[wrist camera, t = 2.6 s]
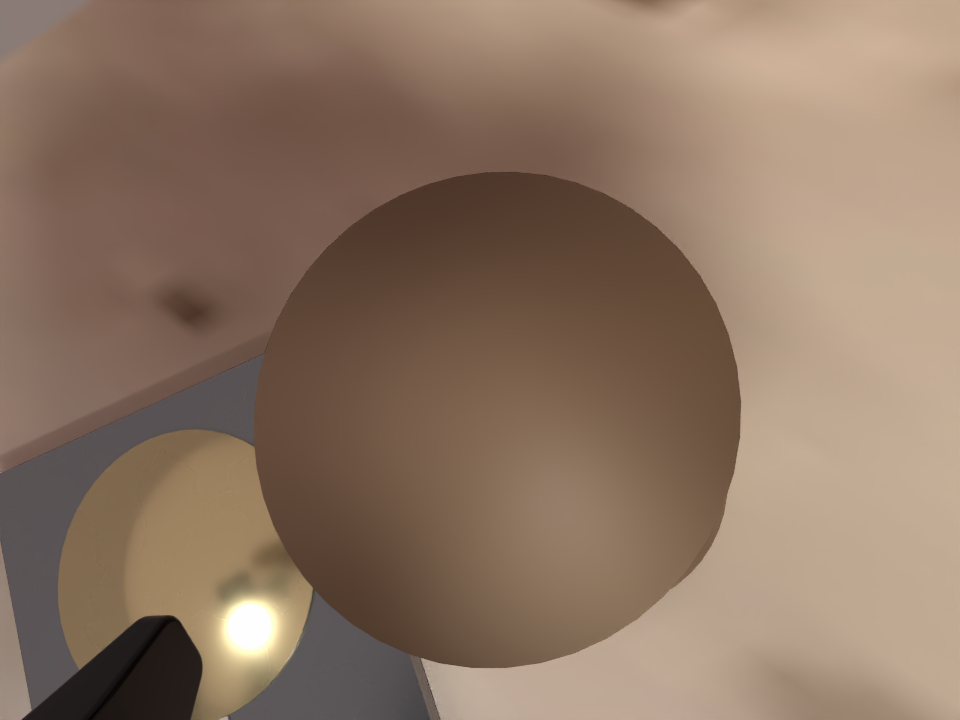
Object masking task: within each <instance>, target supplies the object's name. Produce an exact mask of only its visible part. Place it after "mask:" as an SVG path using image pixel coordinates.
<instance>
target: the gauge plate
mask: <svg viewBox="0 0 960 720" xmlns="http://www.w3.org/2000/svg"><path fill="white" fill-rule="evenodd" d="M264 355H265V354H262V355H260V356H258V357H256V358H254V359H251V360H249V361H247V362H245V363H243V364H240V365H238V366H236V367H234V368H232V369H229V370H227V371H225V372H223V373H221V374H218V375H216V376H214V377H212V378H210V379H207V380H205V381H203V382H201V383H199V384H196V385H194V386H192V387H190V388H188V389H185V390H183V391H181V392H179V393H177V394H174V395H172V396H170V397H168V398H166V399H163V400H161V401H159V402H157V403H155V404H152V405H150V406H148V407H146V408H144V409H141V410H139V411H137V412H135V413H133V414H130V415H128V416H126V417H124V418H122V419H119V420H117V421H115V422H113V423H111V424H109V425H106V426H104V427H102V428H100V429H98V430H95V431H93V432H91V433H89V434H87V435H84V436H82V437H80V438H78V439H76V440H73V441H71V442H69V443H67V444H65V445H62V446H60V447H58V448H56V449H54V450H51V451H49V452H47V453H45V454H43V455H40V456H38V457H36V458H34V459H32V460H29V461H27V462H25V463H23V464H21V465H18V466H16V467H14V468H12V469H10V470H7V471H5V472H3V473H1V474H0V541H1V546H2V552H3V557H4V562H5V568H6V573H7V578H8V584H9V589H10V595H11V600H12V605H13V611H14V616H15V622H16V627H17V632H18V638H19V643H20V649H21V654H22V659H23V665H24V670H25V676H26V681H27V686H28V692H29V697H30V703H31V708H32V710H33V709H35V708H36V707H37V706H38V705H39V704H40V703H41V702H43V701H44V700H45V699H46V698H47V697H48V696H50V695H51V694H52V693H53V692H54V691H55V690H57V689H58V688H59V687H60V686H61V685H62V684H64V683H65V682H66V681H67V680H68V679H69V678H70V677H72V676H73V675H74V674H75V673H76V672H77V671H79V670H80V669H81V668H82V667H83V666H84V665H86V664H87V663H88V662H89V661H90V660H91V659H93V658H94V657H95V656H96V655H97V654H98V653H99V652H101V651H102V650H103V649H104V648H105V647H106V646H108V645H109V644H110V643H111V642H112V641H113V640H115V639H116V638H117V637H118V636H119V635H120V634H122V633H123V632H124V631H125V630H126V629H127V628H128V627H130V626H131V625H132V624H133V623H134V622H136V621H137V620H138V619H140V618H142V617H145V616H153V615H172V616H175V617H176V618H178V619H179V620H180V622H181V623H182V625H183V626H184V628H185V630H186V631H187V633H188V635H189V636H190V638H191V639H192V641H193V643H194V644H195V646H196V647H197V649H198V651H199V652H200V654H201V657H202V663H203V671H202V678H201V682H200V686H199V690H198V694H197V698H196V702H195V706H194V710H193V713H192V717H191V720H440V718H439V715H438V712H437V709H436V706H435V703H434V699H433V696H432V693H431V690H430V687H429V684H428V681H427V678H426V675H425V672H424V669H423V666H422V663H421V660H420V657H417V656H413V655H410V654H407V653H405V652H402V651H400V650H398V649H396V648H394V647H391V646H389V645H387V644H385V643H383V642H380V641H378V640H376V639H375V638H373V637H372V636H370V635H369V634H367V633H365V632H364V631H362V630H361V629H359V628H358V627H356V626H354V625H353V624H351V623H350V622H349V621H347V620H346V619H345V618H344V617H343V616H342V615H340V614H339V613H338V612H337V611H336V610H335V609H333V608H332V607H331V606H330V605H329V604H327V603H326V602H325V601H324V600H323V598H322V597H321V596H320V595H319V594H318V593H317V592H316V591H315V590H314V588H313V587H312V586H311V585H310V584H309V583H308V582H307V581H306V580H305V578H304V577H303V575H302V574H301V572H300V571H299V569H298V568H297V567H296V565H295V564H294V562H293V561H292V559H291V558H290V556H289V555H288V553H287V552H286V550H285V548H284V546H283V544H282V542H281V540H280V538H279V536H278V534H277V532H276V530H275V528H274V526H273V523H272V520H271V518H270V515H269V512H268V509H267V506H266V504H265V501H264V498H263V494H262V490H261V485H260V481H259V476H258V472H257V467H256V457H255V447H254V405H255V398H256V391H257V384H258V377H259V373H260V369H261V366H262V362H263V358H264Z"/></svg>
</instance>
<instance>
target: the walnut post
mask: <svg viewBox="0 0 960 720" xmlns="http://www.w3.org/2000/svg"><path fill="white" fill-rule="evenodd" d="M740 414H741V399H740V390H739V381H738V372H737V365H736V362H735V358H734V354H733V350H732V346H731V342H730V338H729V334H728V332H727V329H726V327H725V324H724V322H723V320H722V317H721V315H720V312H719V310H718V307H717V305H716V303H715V301H714V299H713V298H712V296H711V294H710V292H709V291H708V289H707V287H706V285H705V284H704V282H703V280H702V279H701V277H700V275H699V274H698V273H697V271H696V270H695V269H694V267H693V266H692V265H691V264H690V262H689V261H688V260H687V258H686V257H685V256H684V255H683V253H682V252H681V251H680V250H679V249H678V248H677V247H676V246H675V245H674V244H673V243H672V242H671V241H670V240H669V239H668V238H667V237H666V236H665V235H664V234H663V233H662V232H661V231H660V230H659V229H658V228H657V227H656V226H654V225H653V224H652V223H650V222H649V221H647V220H646V219H645V218H643V217H642V216H641V215H639V214H638V213H637V212H635V211H634V210H633V209H631V208H629V207H628V206H626V205H624V204H622V203H620V202H618V201H617V200H615V199H613V198H611V197H609V196H607V195H606V194H604V193H601V192H599V191H596V190H593V189H591V188H588V187H586V186H583V185H580V184H578V183H575V182H571V181H567V180H563V179H559V178H554V177H550V176H546V175H538V174H529V173H519V172H492V173H479V174H472V175H465V176H458V177H454V178H450V179H446V180H442V181H439V182H435V183H431V184H428V185H425V186H423V187H420V188H418V189H415V190H413V191H410V192H408V193H405V194H403V195H400V196H398V197H397V198H395V199H393V200H391V201H389V202H387V203H386V204H384V205H382V206H380V207H378V208H377V209H375V210H373V211H372V212H370V213H369V214H368V215H366V216H365V217H363V218H362V219H361V220H359V221H358V222H356V223H355V224H353V225H352V226H351V227H349V228H348V229H347V230H346V231H345V232H344V233H343V234H342V235H341V236H339V237H338V238H337V239H336V240H335V241H334V242H333V243H332V244H331V245H329V246H328V247H327V249H326V250H325V251H324V252H323V253H322V254H321V255H320V256H319V258H318V259H317V260H316V261H315V262H314V263H313V264H312V266H311V267H310V268H309V269H308V270H307V272H306V273H305V275H304V276H303V278H302V279H301V280H300V282H299V283H298V285H297V286H296V288H295V289H294V291H293V292H292V293H291V295H290V297H289V299H288V301H287V303H286V305H285V306H284V308H283V310H282V312H281V314H280V316H279V318H278V320H277V322H276V324H275V327H274V330H273V332H272V335H271V337H270V340H269V342H268V345H267V347H266V351H265V355H264V358H263V362H262V366H261V369H260V373H259V377H258V384H257V391H256V398H255V405H254V447H255V457H256V467H257V472H258V476H259V481H260V485H261V490H262V494H263V498H264V501H265V504H266V506H267V509H268V512H269V515H270V518H271V520H272V523H273V526H274V528H275V530H276V532H277V534H278V536H279V538H280V540H281V542H282V544H283V546H284V548H285V550H286V552H287V553H288V555H289V556H290V558H291V559H292V561H293V562H294V564H295V565H296V567H297V568H298V569H299V571H300V572H301V574H302V575H303V577H304V578H305V580H306V581H307V582H308V583H309V584H310V585H311V586H312V587H313V588H314V590H315V591H316V592H317V593H318V594H319V595H320V596H321V597H322V598H323V600H324V601H325V602H326V603H327V604H329V605H330V606H331V607H332V608H333V609H335V610H336V611H337V612H338V613H339V614H340V615H342V616H343V617H344V618H345V619H346V620H347V621H349V622H350V623H351V624H353V625H354V626H356V627H358V628H359V629H361V630H362V631H364V632H365V633H367V634H369V635H370V636H372V637H373V638H375V639H376V640H378V641H380V642H383V643H385V644H387V645H389V646H391V647H394V648H396V649H398V650H400V651H402V652H405V653H407V654H410V655H413V656H417V657H420V658H424V659H427V660H430V661H434V662H437V663H442V664H449V665H456V666H463V667H470V668H509V667H516V666H523V665H530V664H537V663H542V662H546V661H549V660H553V659H556V658H559V657H563V656H566V655H570V654H573V653H576V652H578V651H580V650H582V649H585V648H587V647H589V646H591V645H593V644H596V643H598V642H600V641H602V640H604V639H607V638H608V637H610V636H611V635H613V634H614V633H616V632H618V631H619V630H621V629H622V628H624V627H625V626H627V625H629V624H630V623H632V622H633V621H635V620H636V619H638V618H639V617H640V616H641V615H642V614H643V613H645V612H646V611H647V610H648V609H649V608H650V607H652V606H653V605H654V604H655V603H656V602H657V601H659V600H660V599H661V598H662V597H663V596H664V595H665V594H666V593H667V592H668V591H669V590H670V589H671V588H673V587H674V586H676V585H677V584H678V583H680V582H681V581H682V580H683V579H684V578H685V577H687V576H688V575H689V574H690V573H691V572H692V571H693V570H694V568H695V567H696V566H697V565H698V564H699V563H700V562H701V560H702V559H703V557H704V556H705V554H706V553H707V551H708V550H709V548H710V547H711V545H712V543H713V541H714V539H715V537H716V535H717V532H718V530H719V527H720V524H721V521H722V518H723V515H724V510H725V504H726V498H727V493H728V489H729V486H730V483H731V480H732V477H733V474H734V469H735V463H736V457H737V451H738V445H739V439H740Z"/></svg>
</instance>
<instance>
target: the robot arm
mask: <svg viewBox="0 0 960 720" xmlns="http://www.w3.org/2000/svg"><path fill="white" fill-rule="evenodd" d="M202 671H203V663H202V657H201V654H200V652H199V651H198V649H197V647H196V646H195V644H194V643H193V641H192V639H191V638H190V636H189V635H188V633H187V631H186V630H185V628H184V626H183V625H182V623H181V622H180V620H179V619H178V618H176V617H175V616H172V615H153V616H145V617H142V618H140V619H138V620H137V621H136V622H134V623H133V624H132V625H131V626H130V627H128V628H127V629H126V630H125V631H124V632H123V633H122V634H120V635H119V636H118V637H117V638H116V639H115V640H113V641H112V642H111V643H110V644H109V645H108V646H106V647H105V648H104V649H103V650H102V651H101V652H99V653H98V654H97V655H96V656H95V657H94V658H93V659H91V660H90V661H89V662H88V663H87V664H86V665H84V666H83V667H82V668H81V669H80V670H79V671H77V672H76V673H75V674H74V675H73V676H72V677H70V678H69V679H68V680H67V681H66V682H65V683H64V684H62V685H61V686H60V687H59V688H58V689H57V690H55V691H54V692H53V693H52V694H51V695H50V696H48V697H47V698H46V699H45V700H44V701H43V702H41V703H40V704H39V705H38V706H37V707H36V708H35V709H33V710H32V711H31V712H30V713H29V714H28V715H26V716H25V717H24V718H23V719H22V720H191V717H192V713H193V710H194V706H195V702H196V698H197V694H198V690H199V686H200V682H201V678H202Z"/></svg>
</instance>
